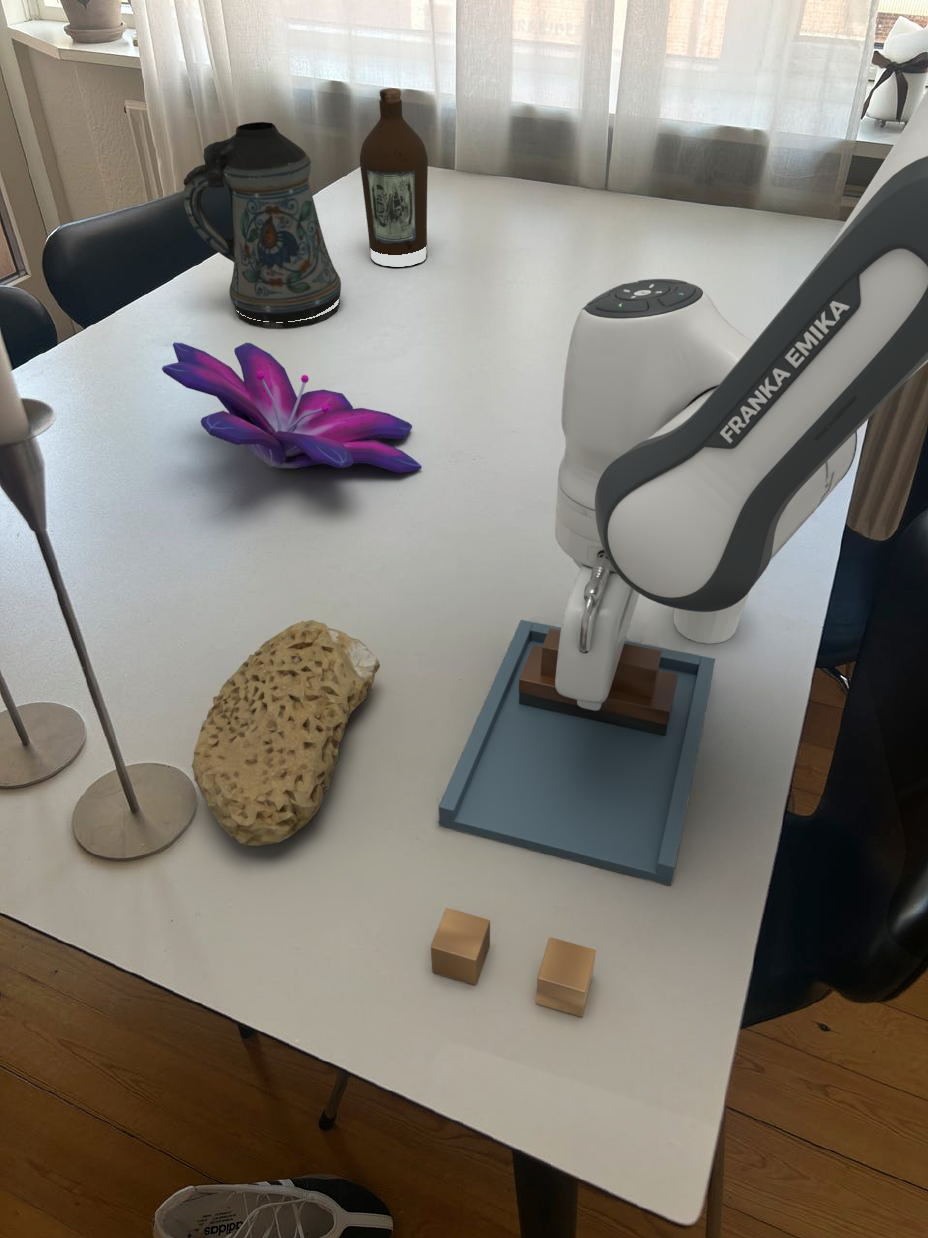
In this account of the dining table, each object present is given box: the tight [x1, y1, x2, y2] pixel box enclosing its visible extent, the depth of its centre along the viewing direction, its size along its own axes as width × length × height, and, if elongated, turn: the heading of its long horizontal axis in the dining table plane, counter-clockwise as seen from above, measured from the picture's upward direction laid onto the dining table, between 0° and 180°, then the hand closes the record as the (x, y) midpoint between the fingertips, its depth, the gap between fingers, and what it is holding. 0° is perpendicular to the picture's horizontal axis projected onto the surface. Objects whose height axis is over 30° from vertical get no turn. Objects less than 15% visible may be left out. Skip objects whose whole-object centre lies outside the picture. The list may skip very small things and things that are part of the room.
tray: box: [438, 619, 716, 887], centre depth 76 cm, size 17×22×2 cm
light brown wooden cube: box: [535, 936, 597, 1018], centre depth 60 cm, size 3×3×3 cm
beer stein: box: [182, 121, 342, 330], centre depth 136 cm, size 16×19×25 cm
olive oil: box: [359, 87, 429, 255], centre depth 153 cm, size 11×11×25 cm
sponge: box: [191, 619, 381, 846], centre depth 74 cm, size 13×8×20 cm
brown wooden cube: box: [430, 907, 491, 986], centre depth 62 cm, size 3×3×3 cm
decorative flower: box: [161, 342, 423, 474], centre depth 108 cm, size 31×31×10 cm
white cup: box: [673, 590, 751, 645], centre depth 86 cm, size 7×7×7 cm
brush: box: [519, 628, 678, 736], centre depth 77 cm, size 12×4×6 cm, turn 72°
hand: (603, 662), depth 76 cm, fingers open, 8 cm apart
